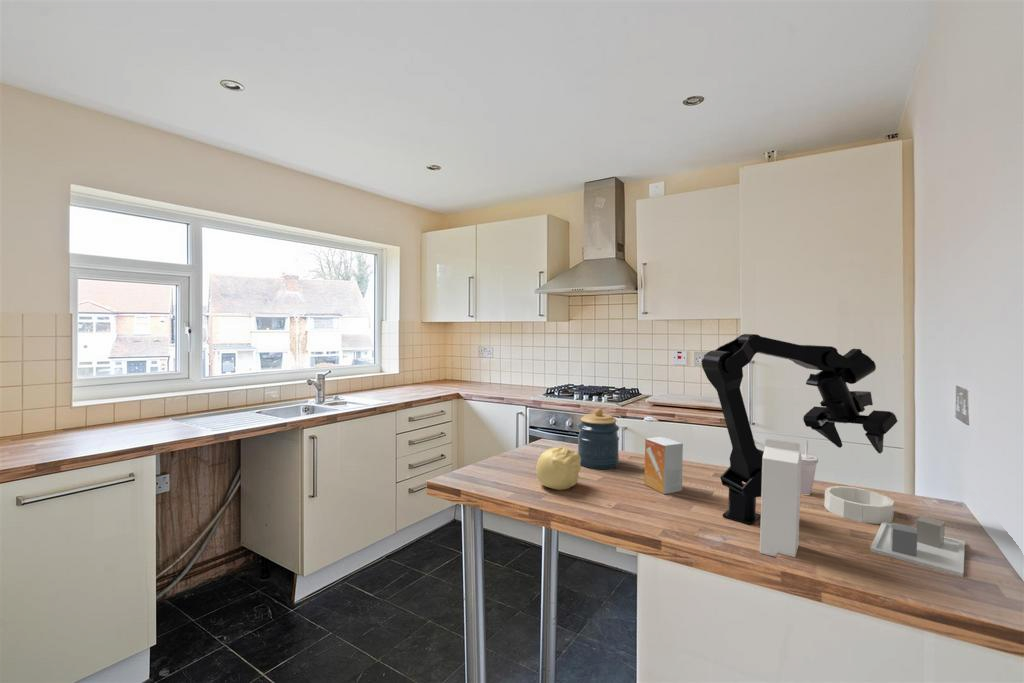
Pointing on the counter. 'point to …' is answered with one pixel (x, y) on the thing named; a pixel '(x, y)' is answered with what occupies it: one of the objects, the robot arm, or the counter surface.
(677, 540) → the counter surface
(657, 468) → the small box
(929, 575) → the counter surface
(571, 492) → the counter surface
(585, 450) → the canister
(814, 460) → the smoothie
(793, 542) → the milk
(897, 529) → the grey block
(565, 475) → the dough ball
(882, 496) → the bowl
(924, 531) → the grey block
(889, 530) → the tray
